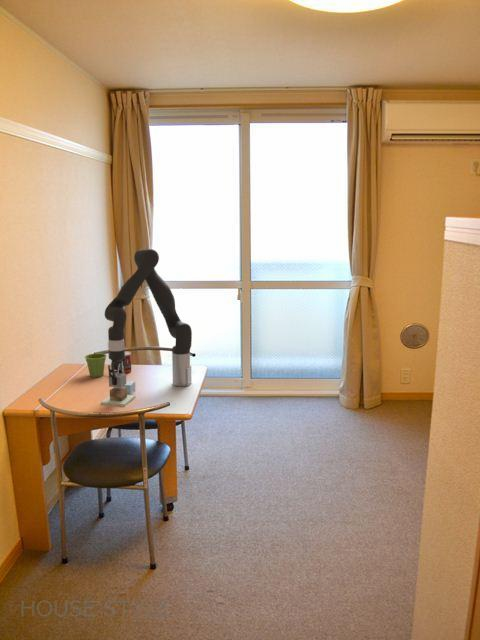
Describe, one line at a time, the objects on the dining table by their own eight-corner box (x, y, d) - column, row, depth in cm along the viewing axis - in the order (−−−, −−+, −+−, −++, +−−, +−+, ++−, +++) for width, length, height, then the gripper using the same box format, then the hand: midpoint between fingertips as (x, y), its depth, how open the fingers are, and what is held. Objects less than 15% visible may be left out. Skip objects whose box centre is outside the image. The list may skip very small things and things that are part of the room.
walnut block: (127, 397, 248) (126, 387, 247) (121, 401, 242) (121, 391, 241) (115, 396, 249) (115, 386, 248) (109, 400, 243) (109, 390, 242)
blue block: (135, 391, 260) (135, 381, 259) (130, 395, 254) (130, 385, 253) (124, 390, 261) (124, 380, 260) (119, 394, 255) (118, 384, 254)
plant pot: (109, 372, 289) (108, 353, 287) (105, 378, 278) (104, 358, 276) (88, 372, 289) (87, 353, 287) (82, 378, 277) (81, 358, 275)
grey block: (126, 383, 246) (126, 373, 245) (120, 387, 241) (120, 377, 240) (114, 382, 248) (114, 372, 247) (109, 386, 242) (108, 376, 241)
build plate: (135, 397, 250) (135, 395, 250) (124, 406, 239) (124, 404, 238) (112, 395, 253) (112, 393, 253) (101, 404, 241) (101, 402, 241)
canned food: (121, 374, 285) (120, 355, 283) (115, 371, 291) (114, 352, 289) (134, 372, 290) (133, 353, 288) (127, 368, 296) (126, 350, 294)
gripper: (117, 352, 233) (118, 388, 236) (130, 345, 247) (131, 378, 250) (101, 351, 234) (103, 386, 238) (116, 344, 248) (117, 377, 252)
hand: (117, 382), depth 244 cm, fingers closed on grey block, 6 cm apart
